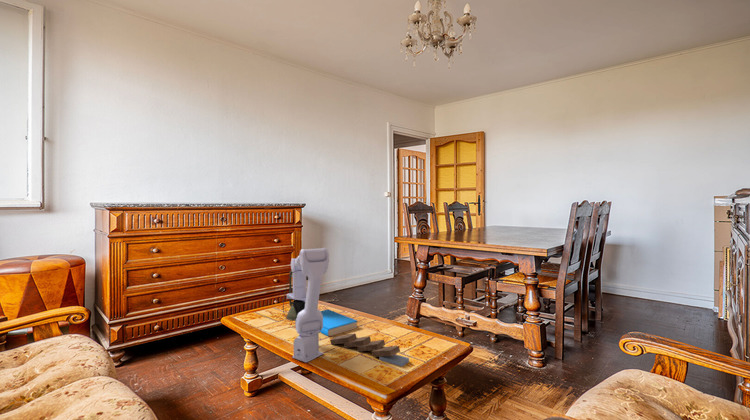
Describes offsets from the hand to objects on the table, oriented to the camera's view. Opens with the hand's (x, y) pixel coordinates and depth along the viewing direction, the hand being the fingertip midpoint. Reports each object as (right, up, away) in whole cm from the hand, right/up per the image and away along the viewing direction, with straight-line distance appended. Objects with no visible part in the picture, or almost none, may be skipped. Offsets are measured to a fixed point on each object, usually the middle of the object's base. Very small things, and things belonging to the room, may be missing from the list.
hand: (299, 317), depth 153 cm
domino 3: (+27, -10, -9) cm, 30 cm away
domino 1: (+15, -9, -2) cm, 18 cm away
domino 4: (+33, -9, -15) cm, 37 cm away
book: (+10, -11, +20) cm, 25 cm away
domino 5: (+36, -10, -17) cm, 41 cm away
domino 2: (+21, -9, -5) cm, 24 cm away
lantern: (-6, -10, +35) cm, 37 cm away
